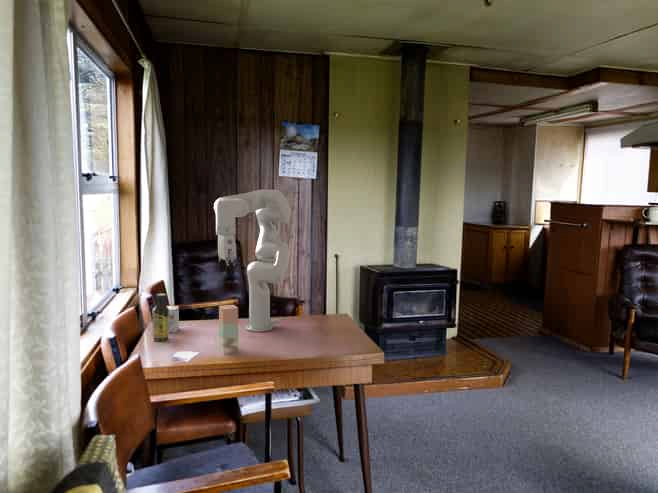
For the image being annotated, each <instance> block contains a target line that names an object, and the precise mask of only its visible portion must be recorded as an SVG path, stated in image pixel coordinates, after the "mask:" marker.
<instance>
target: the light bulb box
mask: <svg viewBox="0 0 658 493" xmlns="http://www.w3.org/2000/svg"><path fill="white" fill-rule="evenodd" d="M166 306H167V307H168V309H169V333H176V332H178V330H179V329H180V323H179V322H180V316H179V310H180V309H179V308H180V306H179V305H166ZM155 308H156V305H155V306H154V307H153V308H152V309H151V328H152V330H151V333H153V321H154V311H155Z"/></svg>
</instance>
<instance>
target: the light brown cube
mask: <svg viewBox="0 0 658 493" xmlns="http://www.w3.org/2000/svg"><path fill="white" fill-rule="evenodd" d="M218 317H219V318H218V322H219V321H220V322H221V323H222V324H230V323H238V324H239V307H238V306H236V305H235V304H226V305H218Z"/></svg>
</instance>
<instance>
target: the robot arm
mask: <svg viewBox="0 0 658 493" xmlns="http://www.w3.org/2000/svg"><path fill="white" fill-rule="evenodd" d="M213 210H214V212H215V235H216V236H217V254H218V271H219V272H221V273H222V272H225V276H227V277H230V276H235V261H236V259H237V247H236V246H237V244H236V238H235V237H236V233H237V232H236V218H243V217H245V216H247V215H248V214H249V213H252V212H255V216H256V220H257V222H258V223H257V224H258V226H259V234H258V239H257V242H256V243H257V244H256V247H255V253H254V254H255V257H256V258H257V259H258V260H257V261H256V260H255V261H252V262H250V263H249V264H248V265H247V267H246V275H247V276H246V277H247V280H248V291H249V292H248V297H249V298H248V299H249V300H248V301H249V302H248V303H249V304H248V306H249V307H248V322H249V323H248V324H246V325H245V329H246V331H250V332H255V333H256V332H258V333H259V332H269V331H271V330H273V328H274V324H280V318H271V307H270V306H271V291H270V288H269V285H267V283H268V284H269V283H271V284H280V283H282V282H283V281H284V278H285V275H286V270H287V267H288V262H289V256H290V247H289V245H288V242H287V243H286V242H285V241H279V240H278V236H279V235H278V234H279V233H278V229H277V228H276V226H275V225H274V224H273V223H272V222H274V223H275V222H276V223H277V222H278V223H285V222H286V223H287V222H288V221H289V220H291V218H292V210H291V206H290V205H289V203H288V201H287V199H286V198H285V195H284V194H283V193H282V192H281V191H280V190H278V189H257V190H252V191H250V192H246V193H245V192H244V193H239V194H233V195H232V194H231V195H226V196H223V197H222V196H221V197H219V198H217V199H216V200H215V202H214V203H213ZM259 260H260V261H259Z"/></svg>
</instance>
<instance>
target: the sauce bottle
mask: <svg viewBox="0 0 658 493" xmlns="http://www.w3.org/2000/svg"><path fill="white" fill-rule="evenodd" d="M155 298H156V305H155V306H156V308H155V311H154V321H153V332H152V334H153V340H154V341H156V342H165V341H167V340H169V336H170V335H169V333H170V332H169V309H168V307H167V306H168V305H167V294H166V293H157V294H156V297H155Z"/></svg>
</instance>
